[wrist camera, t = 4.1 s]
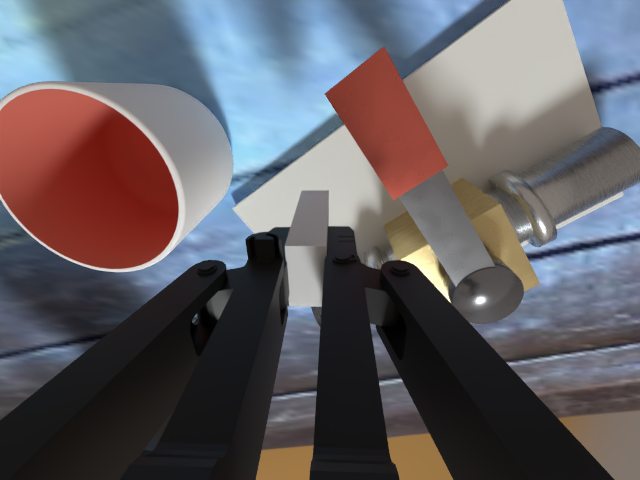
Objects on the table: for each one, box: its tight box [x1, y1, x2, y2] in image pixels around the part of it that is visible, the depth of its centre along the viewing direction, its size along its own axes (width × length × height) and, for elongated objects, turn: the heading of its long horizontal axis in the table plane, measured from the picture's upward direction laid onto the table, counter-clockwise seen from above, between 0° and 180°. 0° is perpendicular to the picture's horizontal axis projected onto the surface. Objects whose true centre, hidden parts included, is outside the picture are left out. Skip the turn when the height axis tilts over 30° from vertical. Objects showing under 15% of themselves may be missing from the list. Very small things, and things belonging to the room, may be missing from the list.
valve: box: [311, 127, 640, 327], centre depth 23 cm, size 24×7×7 cm, turn 126°
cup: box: [0, 81, 233, 272], centre depth 20 cm, size 10×10×10 cm
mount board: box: [232, 0, 623, 324], centre depth 25 cm, size 26×17×1 cm, turn 126°
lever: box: [325, 47, 524, 324], centre depth 17 cm, size 16×4×2 cm, turn 36°
